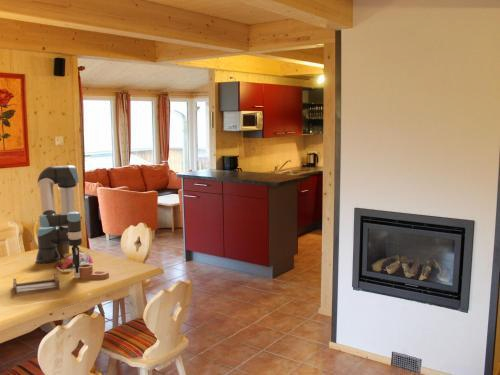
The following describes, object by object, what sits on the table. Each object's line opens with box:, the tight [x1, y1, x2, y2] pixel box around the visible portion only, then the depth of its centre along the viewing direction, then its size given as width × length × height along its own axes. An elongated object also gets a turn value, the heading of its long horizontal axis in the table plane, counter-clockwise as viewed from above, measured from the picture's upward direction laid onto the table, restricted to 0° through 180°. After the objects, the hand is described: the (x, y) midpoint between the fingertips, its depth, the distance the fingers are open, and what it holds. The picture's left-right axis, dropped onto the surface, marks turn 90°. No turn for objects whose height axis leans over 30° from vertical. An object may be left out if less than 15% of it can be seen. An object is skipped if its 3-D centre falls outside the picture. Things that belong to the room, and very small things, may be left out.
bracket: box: [78, 264, 110, 280], centre depth 297 cm, size 18×8×7 cm, turn 89°
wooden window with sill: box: [12, 273, 60, 297], centre depth 277 cm, size 17×23×4 cm
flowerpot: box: [57, 226, 70, 257], centre depth 346 cm, size 14×14×30 cm
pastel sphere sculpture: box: [54, 249, 94, 273], centre depth 321 cm, size 25×24×9 cm
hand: (76, 276), depth 295 cm, fingers open, 5 cm apart
